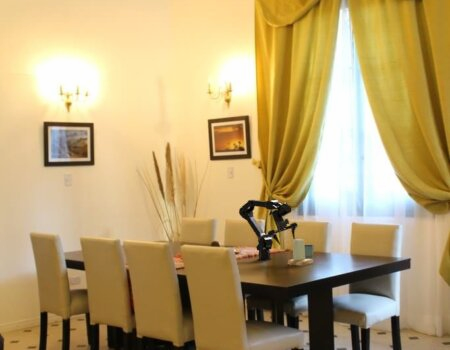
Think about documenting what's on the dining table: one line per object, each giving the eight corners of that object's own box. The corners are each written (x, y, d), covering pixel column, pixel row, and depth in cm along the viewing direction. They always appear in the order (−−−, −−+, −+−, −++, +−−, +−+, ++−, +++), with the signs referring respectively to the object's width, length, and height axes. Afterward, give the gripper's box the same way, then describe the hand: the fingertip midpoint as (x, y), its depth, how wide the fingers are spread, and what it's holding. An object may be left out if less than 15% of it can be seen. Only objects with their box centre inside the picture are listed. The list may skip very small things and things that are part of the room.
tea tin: (293, 259, 376) (292, 239, 376) (300, 258, 378) (299, 238, 379) (298, 260, 371) (297, 240, 371) (305, 259, 374) (304, 239, 374)
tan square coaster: (287, 265, 374) (287, 260, 374) (297, 262, 383) (297, 257, 383) (304, 266, 367) (304, 261, 367) (313, 264, 376) (313, 259, 376)
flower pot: (313, 261, 384) (313, 246, 384) (299, 261, 386) (298, 246, 386) (314, 259, 393) (313, 244, 393) (300, 259, 395) (299, 244, 395)
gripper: (265, 220, 380) (273, 245, 375) (293, 211, 382) (303, 235, 377) (264, 225, 391) (272, 248, 386) (292, 215, 392) (301, 239, 388)
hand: (287, 242), depth 384 cm, fingers open, 9 cm apart
